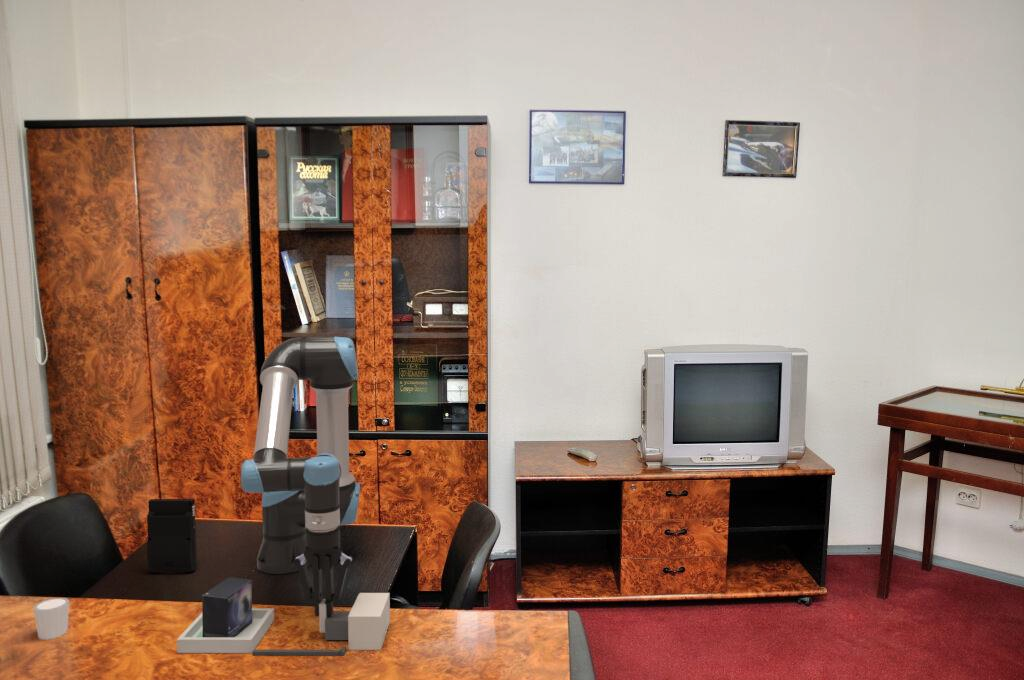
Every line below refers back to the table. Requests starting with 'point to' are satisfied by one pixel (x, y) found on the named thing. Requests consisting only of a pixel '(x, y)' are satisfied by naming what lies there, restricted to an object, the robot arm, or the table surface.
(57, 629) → the white cylinder
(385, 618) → the socket
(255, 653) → the grey thin bar
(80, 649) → the table surface
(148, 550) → the black upright device
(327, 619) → the plug
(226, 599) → the small box
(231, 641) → the dock
